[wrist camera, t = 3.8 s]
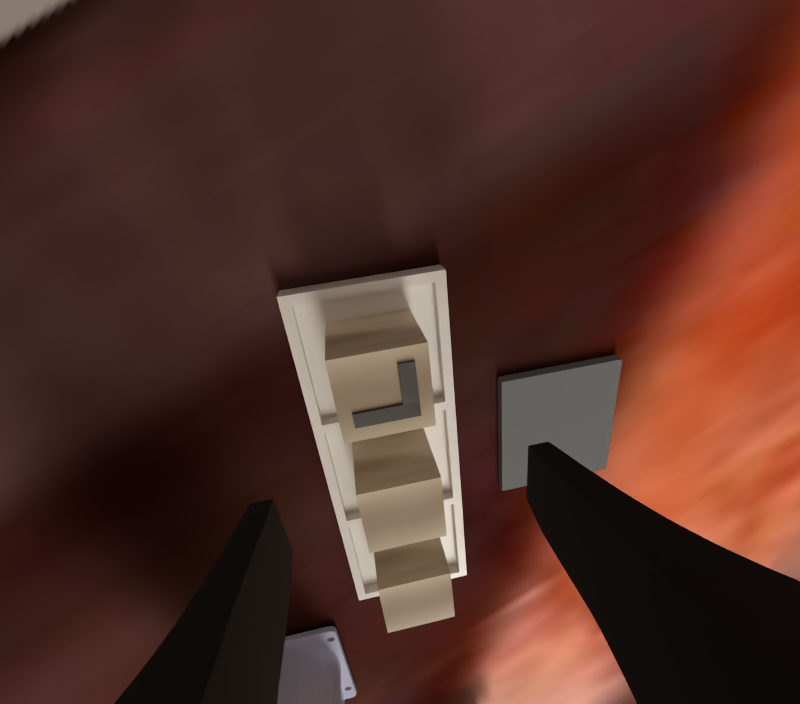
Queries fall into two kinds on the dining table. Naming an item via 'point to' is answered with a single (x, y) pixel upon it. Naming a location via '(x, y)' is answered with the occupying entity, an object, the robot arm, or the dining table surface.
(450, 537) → the sorting tray
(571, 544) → the robot arm
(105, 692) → the dining table surface
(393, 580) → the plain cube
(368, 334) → the letter cube
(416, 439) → the plain cube middle
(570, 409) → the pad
